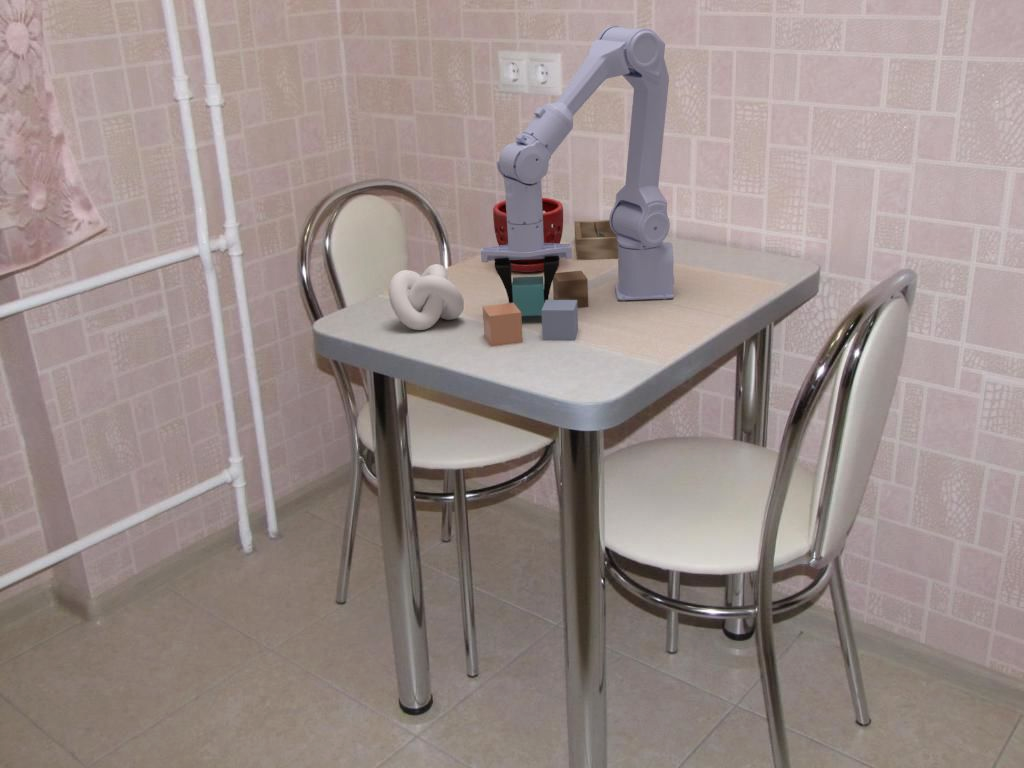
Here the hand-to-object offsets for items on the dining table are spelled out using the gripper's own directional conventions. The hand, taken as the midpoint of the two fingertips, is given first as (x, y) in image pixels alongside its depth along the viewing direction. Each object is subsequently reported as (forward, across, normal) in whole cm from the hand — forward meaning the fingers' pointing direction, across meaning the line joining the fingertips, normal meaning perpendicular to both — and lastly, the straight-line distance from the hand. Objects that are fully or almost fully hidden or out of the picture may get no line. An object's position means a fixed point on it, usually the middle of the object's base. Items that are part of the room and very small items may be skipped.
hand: (528, 301), depth 173 cm
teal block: (+2, 0, 0) cm, 2 cm away
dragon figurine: (+4, -12, -40) cm, 42 cm away
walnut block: (+3, -7, -7) cm, 10 cm away
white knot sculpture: (+3, +16, 0) cm, 16 cm away
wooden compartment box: (+3, -16, -40) cm, 43 cm away
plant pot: (+3, 0, -30) cm, 30 cm away
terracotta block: (+3, +4, +9) cm, 10 cm away
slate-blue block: (+3, -5, +8) cm, 10 cm away
